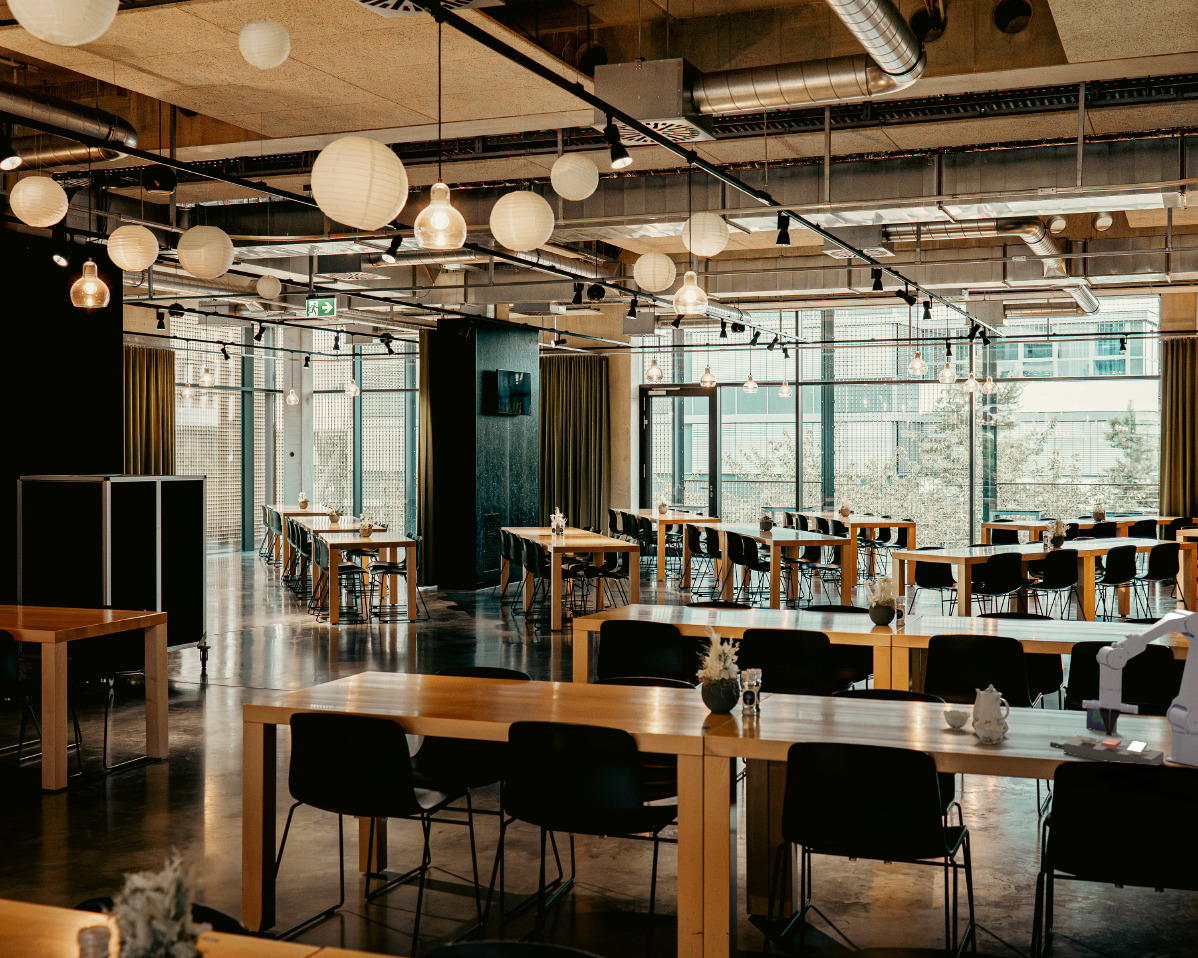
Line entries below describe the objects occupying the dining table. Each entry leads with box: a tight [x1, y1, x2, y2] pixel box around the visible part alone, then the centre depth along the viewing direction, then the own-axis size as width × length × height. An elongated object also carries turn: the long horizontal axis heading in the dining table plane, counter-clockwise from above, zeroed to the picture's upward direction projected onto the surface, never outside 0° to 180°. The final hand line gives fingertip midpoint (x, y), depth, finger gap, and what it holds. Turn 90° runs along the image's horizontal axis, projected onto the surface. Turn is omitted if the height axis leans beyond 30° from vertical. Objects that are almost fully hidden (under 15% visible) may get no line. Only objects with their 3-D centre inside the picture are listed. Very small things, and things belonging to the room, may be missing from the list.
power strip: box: [1049, 736, 1165, 765], centre depth 319 cm, size 30×12×3 cm, turn 47°
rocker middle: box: [1101, 737, 1122, 748], centre depth 315 cm, size 4×6×2 cm, turn 137°
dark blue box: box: [1085, 699, 1118, 733], centre depth 351 cm, size 9×3×11 cm, turn 51°
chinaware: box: [942, 684, 1010, 745], centre depth 340 cm, size 28×17×17 cm, turn 20°
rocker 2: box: [1127, 740, 1148, 755], centre depth 311 cm, size 4×6×2 cm, turn 137°
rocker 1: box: [1076, 734, 1097, 743], centre depth 320 cm, size 4×6×2 cm, turn 138°
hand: (1109, 734), depth 313 cm, fingers closed
